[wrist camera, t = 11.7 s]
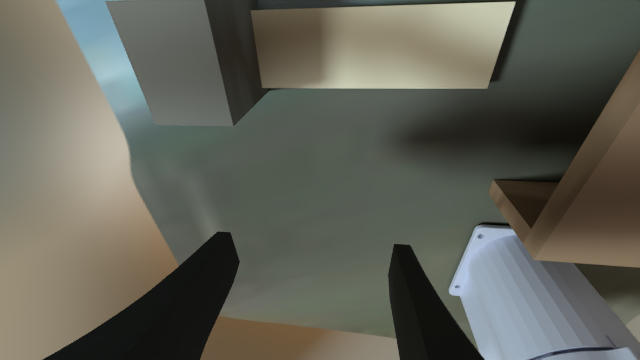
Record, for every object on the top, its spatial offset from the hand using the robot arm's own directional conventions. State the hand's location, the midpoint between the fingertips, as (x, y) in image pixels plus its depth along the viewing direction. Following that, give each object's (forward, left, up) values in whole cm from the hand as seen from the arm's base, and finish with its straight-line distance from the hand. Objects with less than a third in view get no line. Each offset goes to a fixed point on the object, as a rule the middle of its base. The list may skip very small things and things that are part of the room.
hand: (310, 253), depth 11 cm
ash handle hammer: (+7, 0, -9) cm, 12 cm away
